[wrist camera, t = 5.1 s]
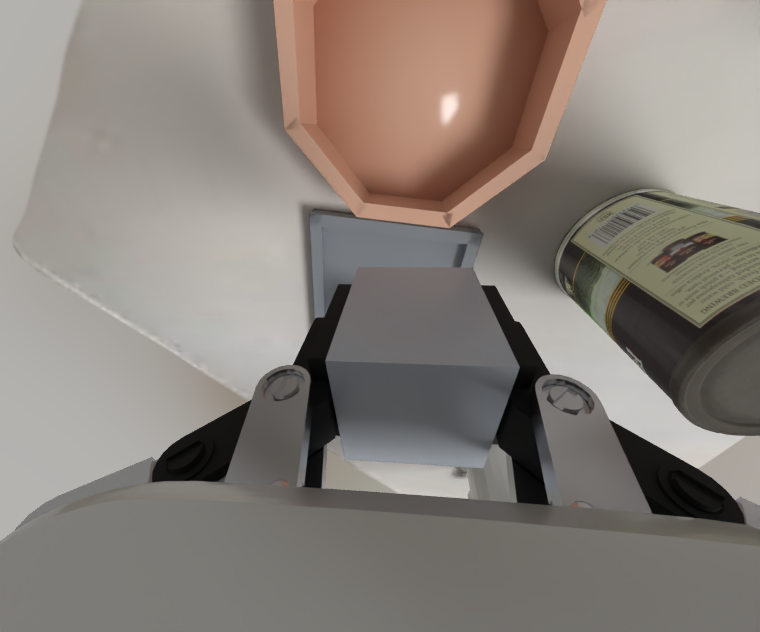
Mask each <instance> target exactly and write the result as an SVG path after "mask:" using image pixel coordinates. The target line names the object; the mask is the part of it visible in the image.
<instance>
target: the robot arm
mask: <svg viewBox="0 0 760 632" xmlns="http://www.w3.org/2000/svg"><path fill="white" fill-rule="evenodd" d="M351 286H352V284H338V286H337V289H336V291H335V293H334V296H333V298H332V300H331V303H330V305H329V307H328V310H327V312H326V314H325V316H324V317H317V318H315V320H314V322H313V324H312V326H311V328H310V330H309V332H308V334H307V336H306V339H305V341H304V343H303V345H302V347H301V349H300V351H299V353H298V355H297V357H296V360H295V362H294V364H293V365H286V366H281V367H278V368H276V369H273V370H271V371H270V372H268V373H267V374H265V375H264V376H263V377H262V378H261V380H260V381H259V383H258V384H257V386H256V389H255V392H254V395H253V398H252V400H250V401H248V402H247V403H245V404H243V405H241V406H239V407H237V408H236V409H234V410H232V411H230V412H228V413H227V414H225V415H223V416H221V417H219V418H217V419H216V420H214V421H212V422H210V423H208V424H206V425H205V426H203V427H201V428H199V429H197V430H195V431H194V432H192V433H190V434H188V435H186V436H184V437H183V438H181V439H180V440H178V441H177V442H175V443H174V444H172V445H171V446H170V447H169V448H168V449H167V450H166V451H165V452H164V453H163V454H162V455H161V457H160V458H159V459H158V460H156V461H155V460H154V459H153V458H152V457H151V458H149V459H146V460H144V461H141V462H139V463H136V464H134V465H132V466H129V467H127V468H124V469H122V470H120V471H117V472H115V473H113V474H110V475H108V476H105V477H103V478H100V479H98V480H95V481H93V482H91V483H88V484H86V485H83V486H81V487H79V488H76V489H74V490H71V491H69V492H67V493H64V494H62V495H59V496H57V497H55V498H54V499H52V500H50V501H48V502H46V503H44V504H43V505H41V506H40V507H39V508H37V509H36V510H35V511H33V512H32V513H31V514H29V515H28V516H27V517H26V519H25V520H24V521H23V522H22V523H21V524H20V525H19V526H18V527H17V528H16V529H15V531H14V532H12V533H11V534H9V535H8V536H7V537H5V538H4V539H3V540H1V541H0V632H760V506H759V505H757V504H754V503H752V502H750V501H748V500H746V499H743V498H742V497H740V498H738V499H737V500H734V499H733V498H732V496H731V495H730V494H729V493H728V492H727V491H726V490H725V489H724V488H723V487H722V486H721V485H719V484H718V483H717V482H716V481H715V480H713V479H712V478H711V477H709V476H708V475H706V474H705V473H703V472H702V471H700V470H699V469H697V468H695V467H693V466H692V465H690V464H688V463H686V462H684V461H683V460H681V459H679V458H677V457H675V456H674V455H672V454H670V453H668V452H666V451H665V450H663V449H661V448H659V447H657V446H656V445H654V444H652V443H650V442H648V441H647V440H645V439H643V438H641V437H639V436H638V435H636V434H634V433H632V432H631V431H629V430H627V429H625V428H623V427H622V426H620V425H618V424H616V423H614V422H613V421H611V420H609V418H608V416H607V414H606V412H605V410H604V408H603V406H602V403H601V401H600V400H599V398H598V397H597V395H596V394H595V393H594V392H593V391H592V390H591V389H590V388H589V387H587V386H586V385H584V384H582V383H581V382H579V381H577V380H575V379H572V378H570V377H567V376H563V375H554V374H550V373H549V371H548V369H547V368H546V366H545V364H544V362H543V361H542V359H541V357H540V356H539V354H538V352H537V350H536V349H535V347H534V345H533V344H532V342H531V340H530V338H529V337H528V335H527V333H526V331H525V330H524V328H523V326H522V325H521V323H520V322H517V321H514V319H513V317H512V316H511V314H510V312H509V310H508V308H507V307H506V305H505V303H504V301H503V299H502V297H501V296H500V294H499V292H498V290H497V288H496V287H495V286H485V285H481V287H482V289H483V291H484V293H485V295H486V297H487V299H488V302H489V304H490V306H491V308H492V310H493V312H494V314H495V316H496V318H497V320H498V323H499V325H500V327H501V329H502V331H503V333H504V335H505V337H506V339H507V342H508V344H509V346H510V348H511V350H512V352H513V354H514V356H515V358H516V360H517V363H518V365H519V367H520V368H519V371H518V374H517V377H516V379H515V382H514V385H513V388H512V390H511V393H510V396H509V399H508V402H507V404H506V407H505V410H504V413H503V415H502V418H501V421H500V424H499V426H498V429H497V432H496V435H495V437H494V440H493V443H492V446H491V449H490V451H489V454H488V457H487V460H486V462H485V465H484V468H471V467H459V468H460V469H461V470H462V471H464V472H466V473H467V475H468V481H469V486H470V491H469V492H468V499H461V498H448V497H435V496H421V495H407V494H393V493H380V492H366V491H351V490H337V489H325V481H326V461H327V443H329V442H330V441H332V440H333V439H334V438H335V436H336V435H337V436H340V433H339V428H338V423H337V418H336V412H335V407H334V402H333V397H332V392H331V387H330V382H329V377H328V372H327V367H326V362H325V360H326V357H327V354H328V352H329V349H330V346H331V343H332V340H333V337H334V334H335V332H336V329H337V326H338V323H339V320H340V317H341V314H342V312H343V309H344V306H345V303H346V300H347V297H348V294H349V292H350V289H351Z"/></svg>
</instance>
